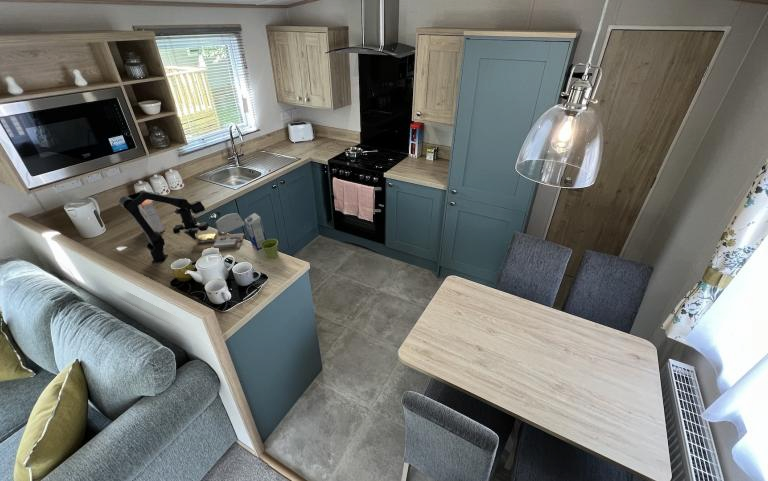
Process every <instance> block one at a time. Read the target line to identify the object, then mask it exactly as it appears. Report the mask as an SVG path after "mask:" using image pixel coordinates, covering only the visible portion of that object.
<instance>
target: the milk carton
mask: <svg viewBox="0 0 768 481" xmlns="http://www.w3.org/2000/svg"><path fill="white" fill-rule="evenodd" d="M244 224H245V226H246V229H247V233H248V237H249V240H250V243H251V246H252V247H253V248H254V249H255V250H257V251H259V250H263V248H262V247H261V243H262V242H263V241H265V240H267V238H266V233H265V229H264V226H263V223H262V218H261V216H259V215H258V214H257V213H255V212H253V213H252V214H250V215H249V216H247V217H246V218H245V219H244Z"/></svg>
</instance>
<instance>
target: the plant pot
mask: <svg viewBox="0 0 768 481" xmlns="http://www.w3.org/2000/svg"><path fill="white" fill-rule="evenodd" d="M278 245H279V240H278V239H276V238H269V239H267V238H266V240H265V241H263V242H262V243H261V247H262V250H263V251H264V254H265V257H266V258H267V259H268V260H270V259H272V260H273V259H276V258H277V257H278V255H279V252H278Z"/></svg>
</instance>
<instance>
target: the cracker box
mask: <svg viewBox="0 0 768 481" xmlns="http://www.w3.org/2000/svg"><path fill="white" fill-rule="evenodd" d="M138 207H139V211H140V213H141V215H142V216H143V217H144V219H145V220H146V221H147V223H148V224H149V226H150V227H151V228H152V230H153V231H154V232H156V231H157V232H158V233H159V234H161V233H162V232H164V231H166V228H165V226H164V225H163V222H162V220H161V218H160V215H159V214H158V211H157V208H156V207H155V205H154V201H152V200H148V199H147V200H145V201H144V202H143V203H142V204H140V205H138Z"/></svg>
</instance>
